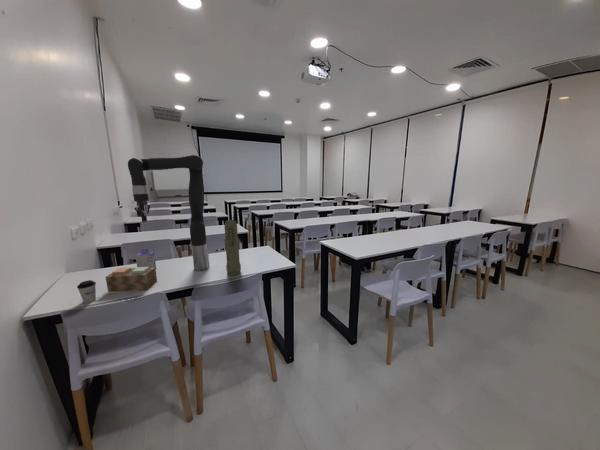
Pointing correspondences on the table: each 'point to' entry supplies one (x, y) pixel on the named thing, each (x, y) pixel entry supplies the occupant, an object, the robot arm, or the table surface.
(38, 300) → the table surface
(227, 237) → the green carved pillar
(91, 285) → the coffee cup
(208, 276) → the table surface
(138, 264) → the ink cartridge box
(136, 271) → the plunger
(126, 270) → the plunger
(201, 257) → the robot arm
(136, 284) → the housing
